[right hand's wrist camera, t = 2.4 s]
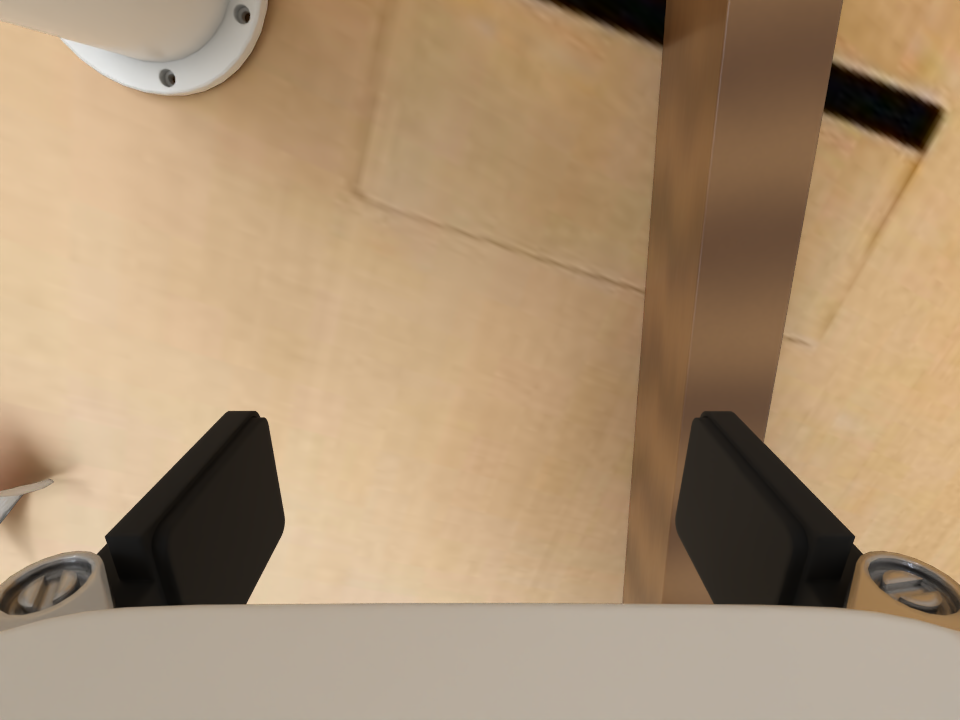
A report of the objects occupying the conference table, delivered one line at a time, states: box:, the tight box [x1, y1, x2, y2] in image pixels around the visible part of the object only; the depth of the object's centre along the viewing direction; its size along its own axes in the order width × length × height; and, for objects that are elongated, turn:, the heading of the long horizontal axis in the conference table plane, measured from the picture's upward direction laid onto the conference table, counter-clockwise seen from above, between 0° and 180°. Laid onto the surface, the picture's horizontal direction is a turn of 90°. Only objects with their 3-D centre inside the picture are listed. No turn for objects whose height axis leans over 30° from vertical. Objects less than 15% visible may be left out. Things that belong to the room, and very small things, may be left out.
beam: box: [623, 0, 843, 604], centre depth 32 cm, size 67×5×8 cm, turn 3°
